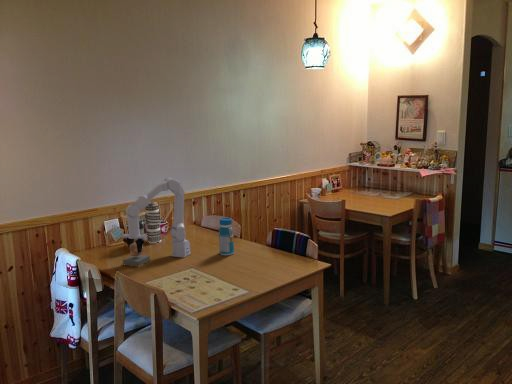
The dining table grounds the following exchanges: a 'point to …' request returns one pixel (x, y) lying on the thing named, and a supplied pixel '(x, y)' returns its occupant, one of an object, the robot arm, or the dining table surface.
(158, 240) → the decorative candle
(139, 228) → the coffee cup
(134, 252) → the terracotta block
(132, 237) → the robot arm
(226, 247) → the beverage bottle
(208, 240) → the dining table surface
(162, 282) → the dining table surface
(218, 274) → the dining table surface
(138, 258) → the charcoal plinth
